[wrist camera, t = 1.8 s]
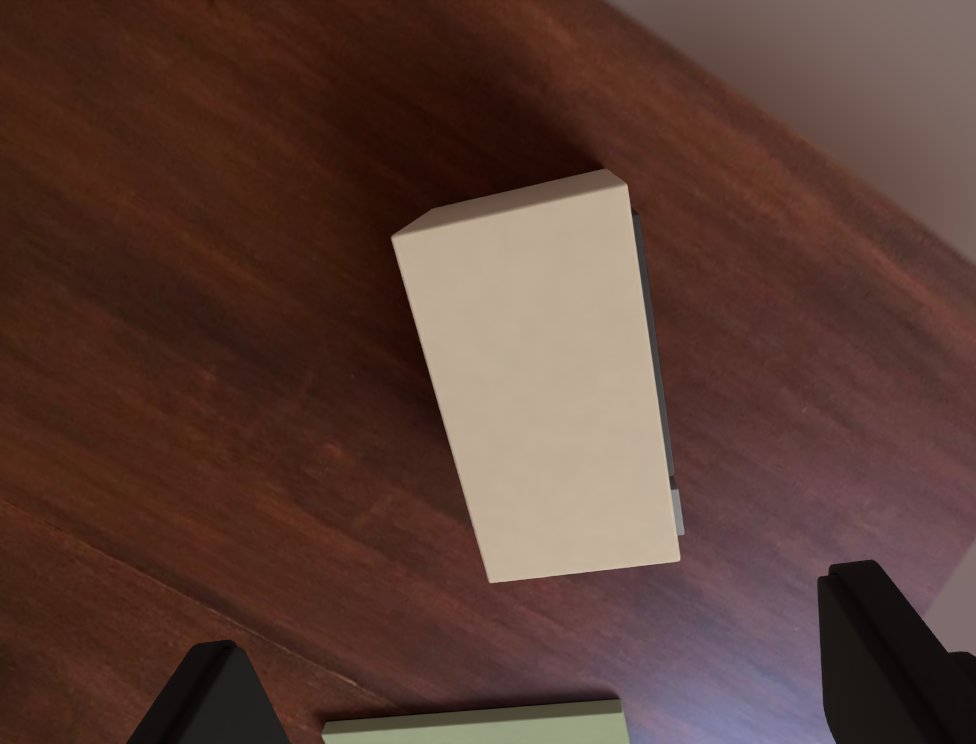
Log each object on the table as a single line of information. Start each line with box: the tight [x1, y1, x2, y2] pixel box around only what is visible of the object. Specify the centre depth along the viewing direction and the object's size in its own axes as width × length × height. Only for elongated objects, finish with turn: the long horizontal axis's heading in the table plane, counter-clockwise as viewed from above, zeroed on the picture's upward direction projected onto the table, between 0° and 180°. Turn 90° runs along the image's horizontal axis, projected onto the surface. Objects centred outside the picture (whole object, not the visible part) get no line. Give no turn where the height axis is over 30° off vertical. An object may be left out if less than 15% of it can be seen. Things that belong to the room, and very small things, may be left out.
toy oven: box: [391, 169, 684, 583], centre depth 20 cm, size 7×12×6 cm, turn 13°
